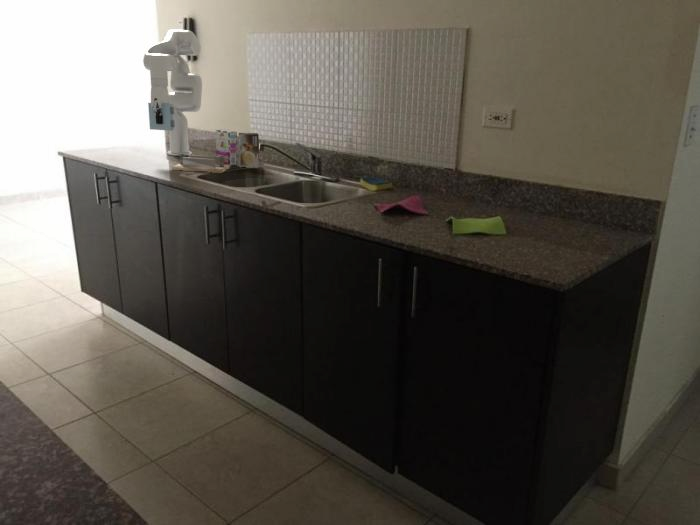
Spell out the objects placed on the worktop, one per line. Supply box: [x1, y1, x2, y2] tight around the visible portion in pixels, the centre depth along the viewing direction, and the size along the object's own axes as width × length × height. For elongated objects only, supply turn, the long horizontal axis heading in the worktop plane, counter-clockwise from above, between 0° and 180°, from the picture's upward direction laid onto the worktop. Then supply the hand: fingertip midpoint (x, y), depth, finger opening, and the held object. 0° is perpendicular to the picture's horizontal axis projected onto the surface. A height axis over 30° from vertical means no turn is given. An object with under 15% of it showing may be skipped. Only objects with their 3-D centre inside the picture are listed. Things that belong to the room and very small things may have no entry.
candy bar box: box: [215, 129, 238, 167], centre depth 287 cm, size 11×5×16 cm, turn 47°
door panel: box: [147, 102, 175, 132], centre depth 275 cm, size 4×11×12 cm, turn 83°
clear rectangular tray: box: [171, 153, 232, 174], centre depth 274 cm, size 15×23×6 cm, turn 84°
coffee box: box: [238, 132, 260, 169], centre depth 284 cm, size 9×6×16 cm
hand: (161, 123), depth 276 cm, fingers closed on door panel, 4 cm apart
